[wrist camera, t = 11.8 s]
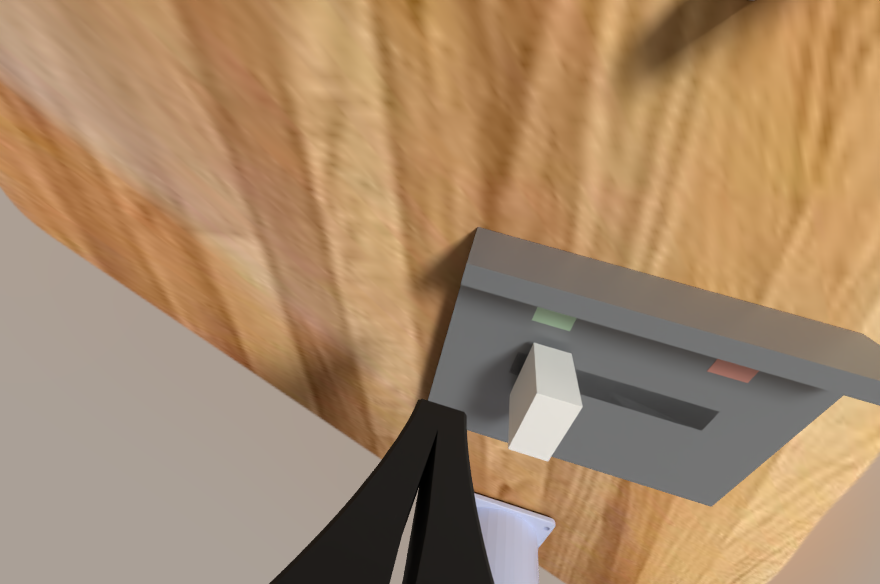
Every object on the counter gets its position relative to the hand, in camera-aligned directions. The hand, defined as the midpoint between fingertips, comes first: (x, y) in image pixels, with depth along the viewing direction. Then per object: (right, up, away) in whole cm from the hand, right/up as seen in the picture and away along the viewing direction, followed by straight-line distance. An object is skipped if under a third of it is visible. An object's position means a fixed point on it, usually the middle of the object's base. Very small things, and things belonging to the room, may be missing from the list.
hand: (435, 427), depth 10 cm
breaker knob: (+6, -1, +9) cm, 11 cm away
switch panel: (+10, -1, +10) cm, 14 cm away
